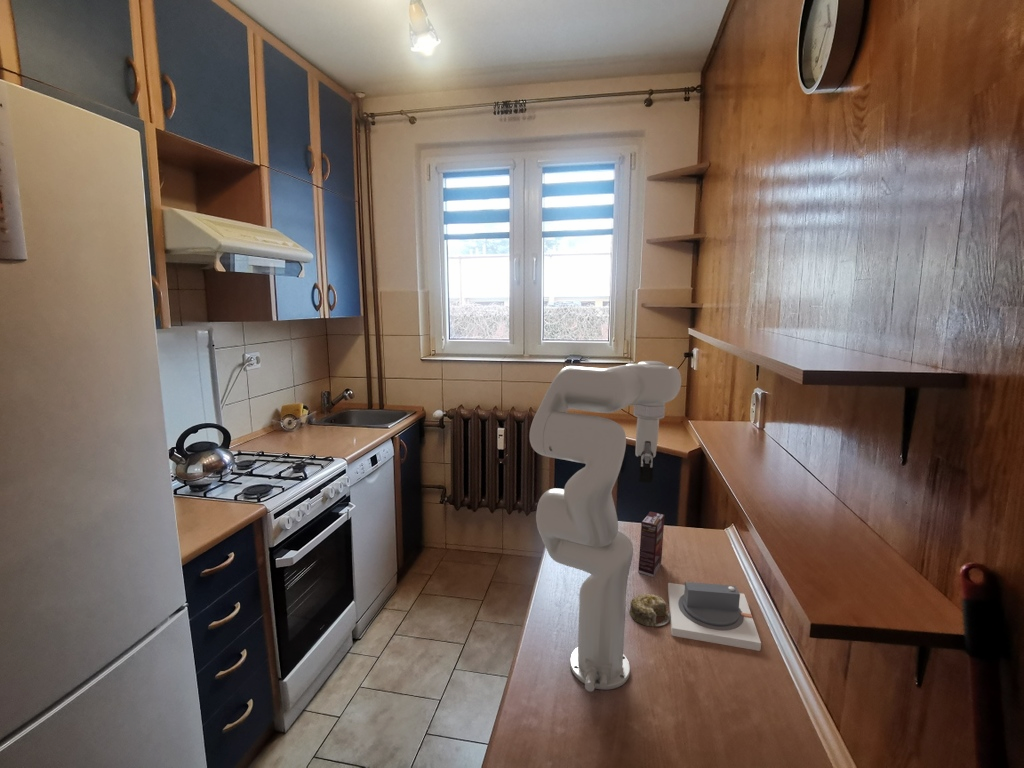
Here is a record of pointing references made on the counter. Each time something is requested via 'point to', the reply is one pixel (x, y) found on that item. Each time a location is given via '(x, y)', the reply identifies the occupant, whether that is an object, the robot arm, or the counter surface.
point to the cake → (648, 610)
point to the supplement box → (651, 544)
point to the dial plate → (691, 628)
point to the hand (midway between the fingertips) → (645, 474)
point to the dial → (712, 603)
